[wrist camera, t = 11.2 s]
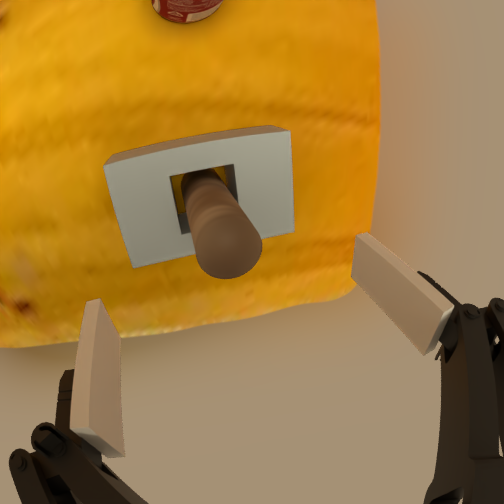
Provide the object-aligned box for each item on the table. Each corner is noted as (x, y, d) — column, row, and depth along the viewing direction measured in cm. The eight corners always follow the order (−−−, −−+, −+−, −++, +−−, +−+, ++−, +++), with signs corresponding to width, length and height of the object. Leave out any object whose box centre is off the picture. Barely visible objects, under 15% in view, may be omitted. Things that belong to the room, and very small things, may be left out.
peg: (184, 206, 30) (203, 285, 18) (177, 169, 28) (190, 228, 16) (222, 198, 30) (264, 270, 19) (217, 162, 28) (259, 213, 17)
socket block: (136, 243, 30) (133, 268, 26) (112, 154, 25) (102, 165, 21) (276, 212, 33) (294, 231, 29) (270, 125, 28) (290, 130, 24)
